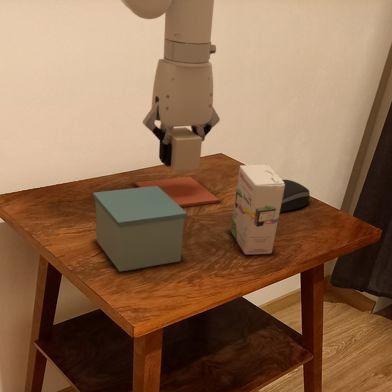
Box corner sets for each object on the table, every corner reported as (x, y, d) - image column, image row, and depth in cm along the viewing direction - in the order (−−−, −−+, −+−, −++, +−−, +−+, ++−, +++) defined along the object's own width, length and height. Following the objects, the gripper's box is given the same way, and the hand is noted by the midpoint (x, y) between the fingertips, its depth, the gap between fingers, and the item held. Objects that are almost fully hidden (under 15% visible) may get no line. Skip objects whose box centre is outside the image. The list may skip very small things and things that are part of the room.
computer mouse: (246, 203, 103) (249, 182, 100) (290, 191, 109) (294, 172, 107) (272, 217, 99) (276, 196, 96) (316, 204, 105) (321, 184, 103)
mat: (161, 210, 97) (161, 206, 96) (135, 185, 105) (135, 182, 104) (218, 202, 102) (219, 199, 101) (190, 179, 110) (190, 176, 109)
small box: (175, 171, 96) (176, 140, 93) (160, 159, 101) (161, 128, 97) (199, 168, 99) (202, 138, 95) (183, 156, 103) (185, 127, 100)
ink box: (229, 231, 92) (238, 163, 85) (256, 230, 94) (267, 163, 86) (244, 255, 86) (255, 183, 79) (272, 254, 87) (287, 183, 80)
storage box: (118, 273, 78) (118, 222, 73) (94, 240, 85) (92, 192, 80) (183, 261, 83) (187, 213, 78) (155, 232, 90) (157, 185, 85)
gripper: (220, 48, 94) (209, 152, 106) (129, 47, 87) (128, 159, 99) (242, 57, 89) (229, 165, 101) (148, 57, 82) (145, 174, 94)
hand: (179, 161), depth 99 cm, fingers closed on small box, 5 cm apart
